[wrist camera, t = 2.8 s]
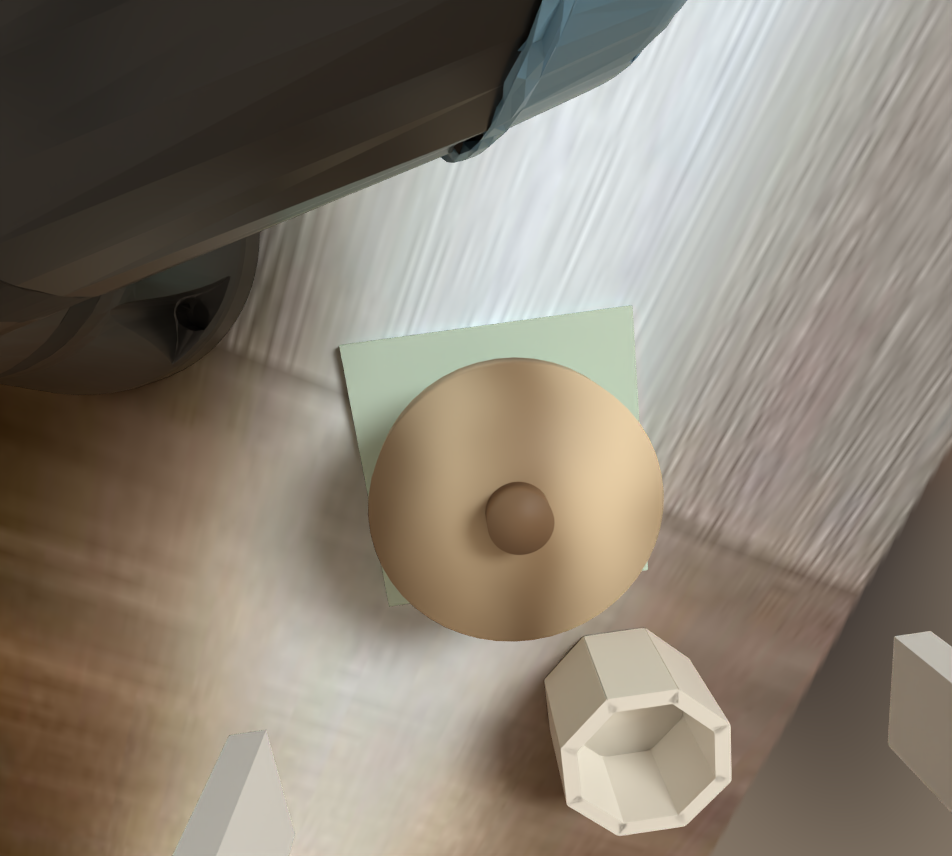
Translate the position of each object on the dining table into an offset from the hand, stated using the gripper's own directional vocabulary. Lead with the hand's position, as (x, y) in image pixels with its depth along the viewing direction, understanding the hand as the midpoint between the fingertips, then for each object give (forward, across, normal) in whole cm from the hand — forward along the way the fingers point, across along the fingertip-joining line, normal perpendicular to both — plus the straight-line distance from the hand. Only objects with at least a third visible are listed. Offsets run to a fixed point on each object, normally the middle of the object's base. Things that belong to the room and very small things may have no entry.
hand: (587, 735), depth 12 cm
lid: (+14, 0, 0) cm, 14 cm away
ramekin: (+18, +5, -15) cm, 24 cm away
